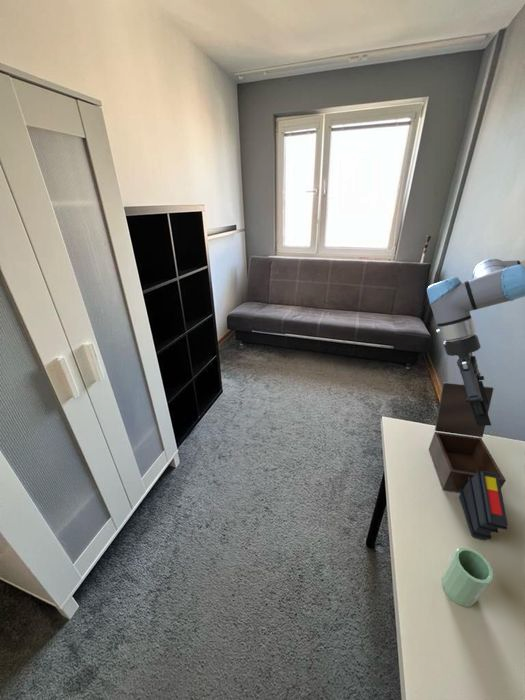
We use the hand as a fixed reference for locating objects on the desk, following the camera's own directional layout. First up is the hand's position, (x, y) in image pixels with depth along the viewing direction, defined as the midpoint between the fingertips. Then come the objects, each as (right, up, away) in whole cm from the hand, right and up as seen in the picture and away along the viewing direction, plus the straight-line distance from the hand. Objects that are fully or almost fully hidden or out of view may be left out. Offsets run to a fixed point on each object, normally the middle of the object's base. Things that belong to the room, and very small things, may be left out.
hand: (483, 413), depth 73 cm
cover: (+1, -1, +9) cm, 9 cm away
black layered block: (-6, -26, -4) cm, 27 cm away
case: (0, -19, +9) cm, 21 cm away
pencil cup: (-17, -33, -15) cm, 40 cm away
